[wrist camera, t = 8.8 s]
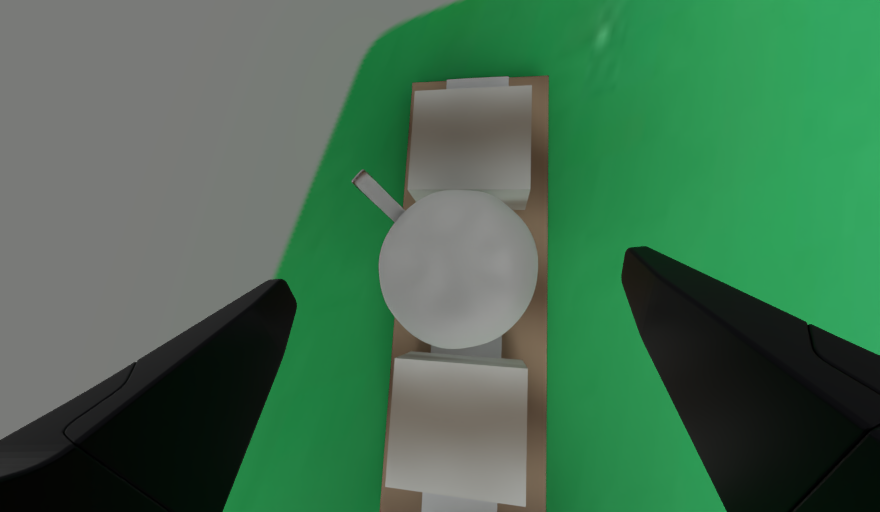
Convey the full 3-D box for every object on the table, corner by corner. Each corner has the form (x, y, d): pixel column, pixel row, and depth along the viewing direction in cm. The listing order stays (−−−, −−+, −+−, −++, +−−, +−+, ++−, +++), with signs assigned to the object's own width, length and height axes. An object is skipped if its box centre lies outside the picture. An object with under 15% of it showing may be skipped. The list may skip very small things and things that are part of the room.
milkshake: (458, 217, 19) (418, 108, 9) (537, 285, 17) (592, 244, 8) (400, 280, 18) (295, 241, 9) (476, 353, 17) (451, 401, 7)
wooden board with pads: (542, 529, 17) (560, 613, 12) (386, 506, 19) (347, 573, 14) (545, 88, 21) (560, 20, 16) (416, 95, 22) (394, 33, 18)
